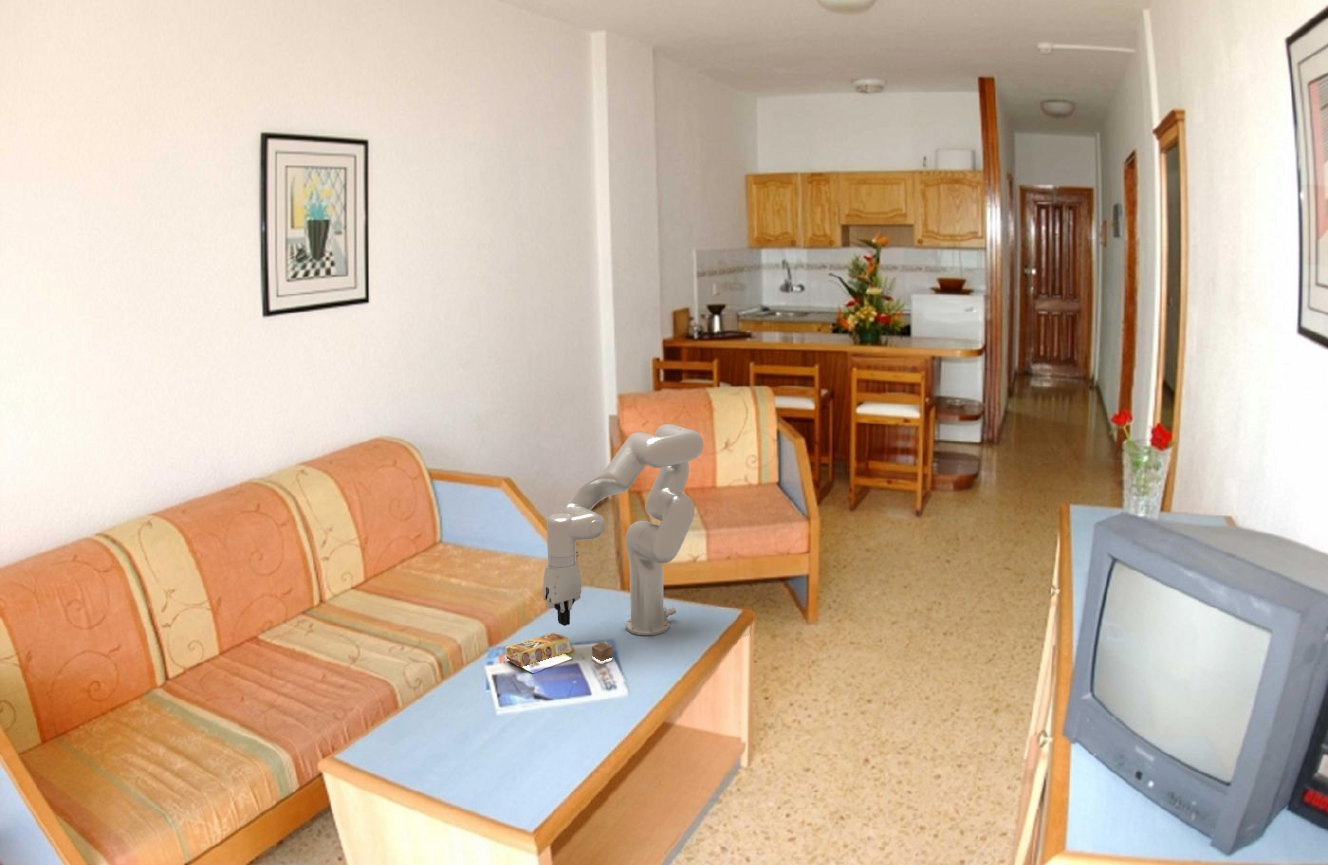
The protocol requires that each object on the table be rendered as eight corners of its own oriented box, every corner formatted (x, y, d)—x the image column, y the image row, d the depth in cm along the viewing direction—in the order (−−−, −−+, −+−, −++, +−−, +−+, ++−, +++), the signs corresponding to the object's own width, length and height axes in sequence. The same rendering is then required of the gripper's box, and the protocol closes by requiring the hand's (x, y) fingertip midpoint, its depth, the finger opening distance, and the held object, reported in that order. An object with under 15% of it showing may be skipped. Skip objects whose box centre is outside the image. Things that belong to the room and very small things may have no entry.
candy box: (570, 637, 272) (519, 651, 263) (571, 652, 272) (521, 667, 264) (554, 631, 279) (504, 645, 271) (556, 646, 280) (506, 661, 271)
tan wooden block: (603, 655, 274) (603, 642, 273) (613, 660, 271) (612, 646, 270) (592, 660, 271) (591, 646, 270) (601, 664, 268) (600, 651, 267)
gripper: (575, 550, 278) (577, 612, 282) (530, 562, 269) (533, 627, 272) (592, 556, 273) (594, 620, 277) (547, 569, 263) (549, 635, 267)
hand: (564, 623), depth 275 cm, fingers closed
